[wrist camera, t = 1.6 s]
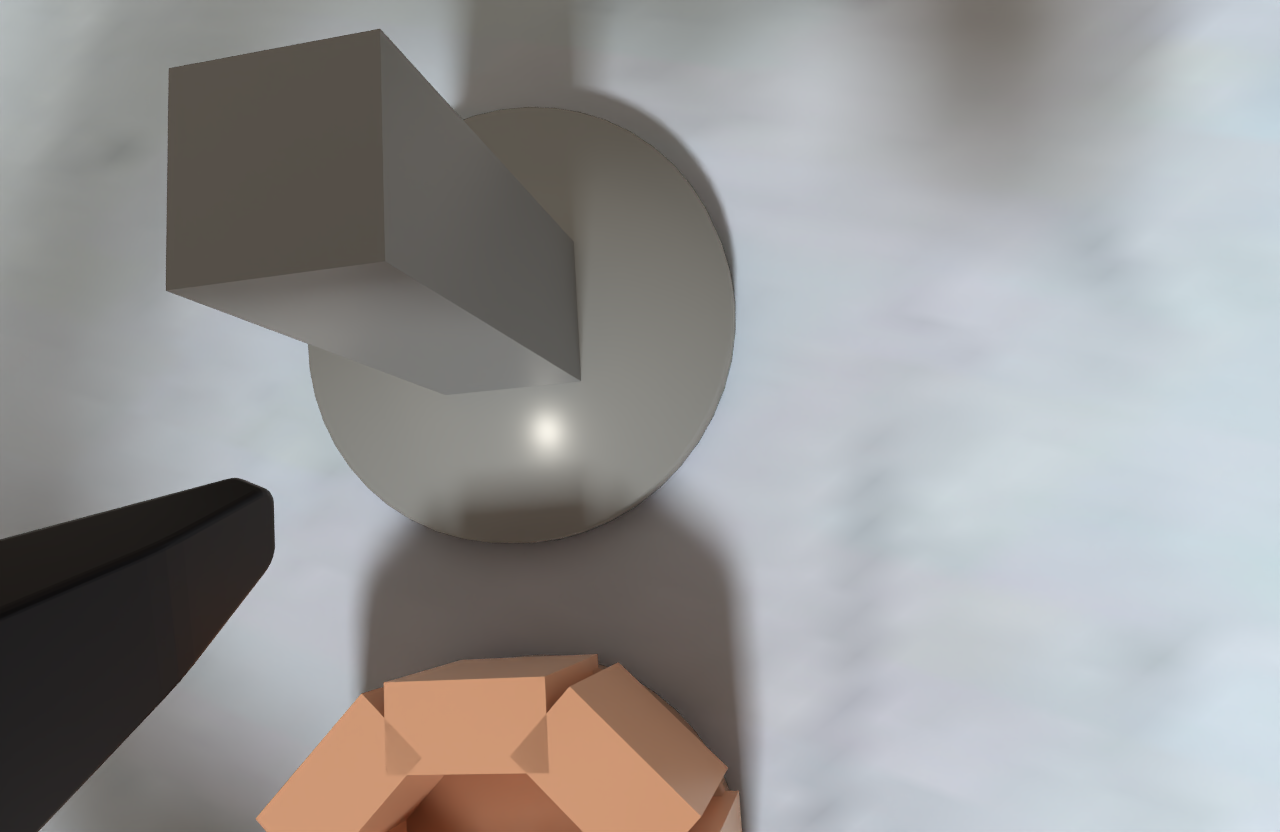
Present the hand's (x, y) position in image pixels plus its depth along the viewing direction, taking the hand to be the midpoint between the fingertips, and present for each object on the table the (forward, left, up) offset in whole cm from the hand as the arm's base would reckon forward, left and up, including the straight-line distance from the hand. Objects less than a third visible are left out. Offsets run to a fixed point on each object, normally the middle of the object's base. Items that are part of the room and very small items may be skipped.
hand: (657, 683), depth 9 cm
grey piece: (-6, +7, -13) cm, 16 cm away
